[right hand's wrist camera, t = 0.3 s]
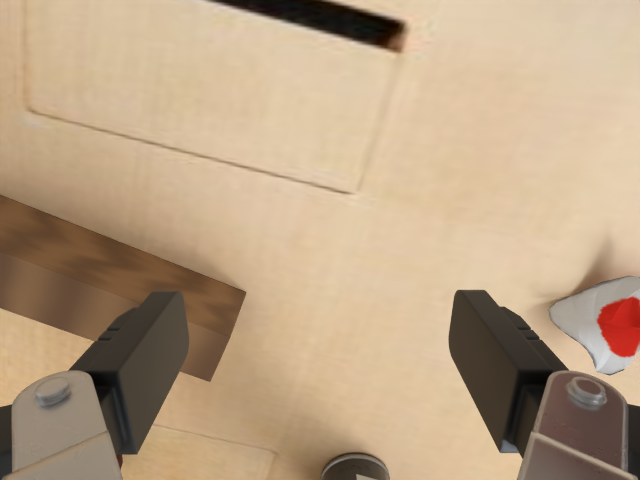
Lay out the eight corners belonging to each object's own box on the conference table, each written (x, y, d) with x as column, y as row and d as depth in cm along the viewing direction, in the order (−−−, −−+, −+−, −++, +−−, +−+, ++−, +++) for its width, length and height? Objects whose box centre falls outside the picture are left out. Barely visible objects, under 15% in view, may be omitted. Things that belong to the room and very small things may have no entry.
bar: (246, 292, 43) (230, 337, 35) (229, 330, 45) (210, 382, 37) (-10, 190, 39) (-95, 216, 31) (-18, 238, 40) (-99, 273, 32)
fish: (666, 405, 42) (735, 438, 33) (522, 336, 47) (546, 347, 37) (708, 317, 42) (790, 325, 33) (560, 256, 47) (594, 248, 37)
